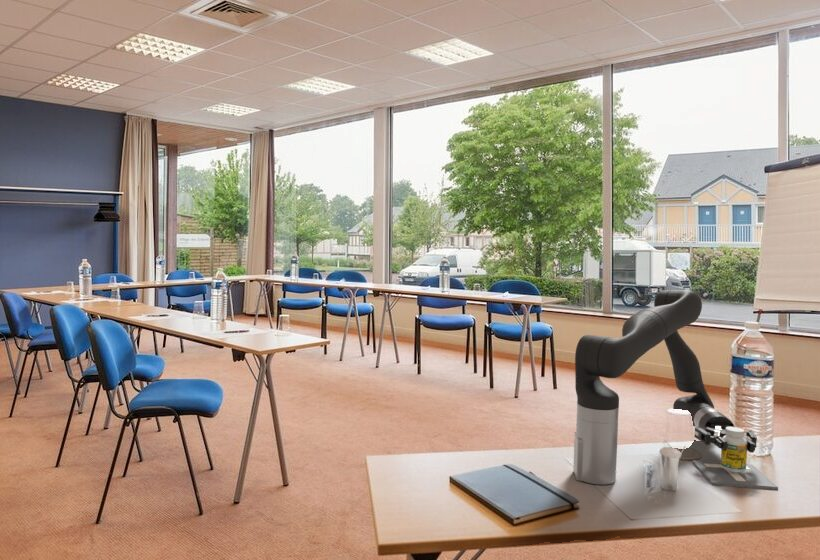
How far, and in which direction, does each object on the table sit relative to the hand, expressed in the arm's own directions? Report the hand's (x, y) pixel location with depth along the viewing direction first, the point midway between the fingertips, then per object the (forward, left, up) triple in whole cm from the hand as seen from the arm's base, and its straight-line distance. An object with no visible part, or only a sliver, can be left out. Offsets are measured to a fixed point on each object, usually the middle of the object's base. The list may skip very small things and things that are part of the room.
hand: (738, 447), depth 139 cm
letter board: (0, +3, -8) cm, 8 cm away
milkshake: (-17, -8, -8) cm, 21 cm away
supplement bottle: (0, +3, -6) cm, 7 cm away
